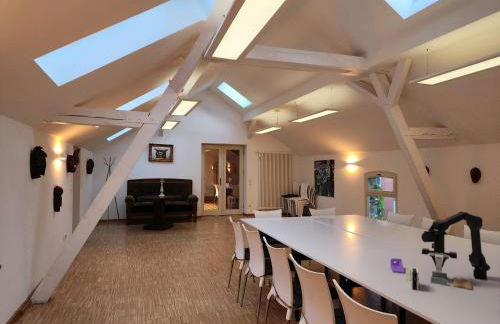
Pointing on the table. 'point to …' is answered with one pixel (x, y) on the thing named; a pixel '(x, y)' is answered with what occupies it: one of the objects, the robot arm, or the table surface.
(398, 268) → the bracket
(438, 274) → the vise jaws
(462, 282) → the walnut pad
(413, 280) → the hinge
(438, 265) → the grey flared bar
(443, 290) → the table surface
